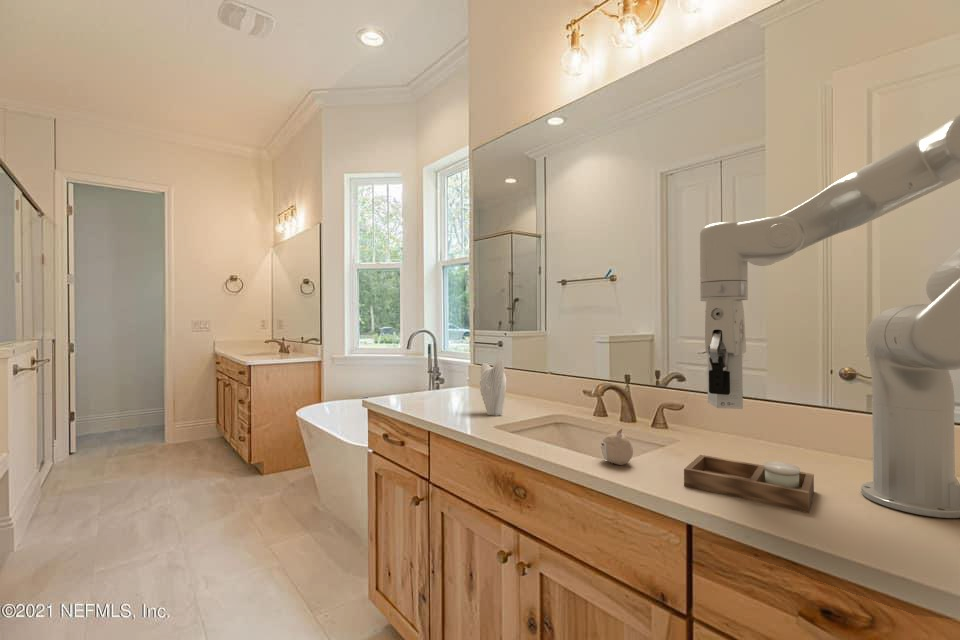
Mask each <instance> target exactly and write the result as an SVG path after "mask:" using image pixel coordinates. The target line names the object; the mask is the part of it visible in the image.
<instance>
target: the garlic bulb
mask: <svg viewBox="0 0 960 640" xmlns="http://www.w3.org/2000/svg"><path fill="white" fill-rule="evenodd" d="M600 444H601V446H600V448H601V453H602V456H603V458H604V460H605V461H607V462H609V463H610V462H611V464H613V463H614V465H619V466H623V465H626V464H627V463H629V462H630V460H632V457H633V455H634V447H633V446H632V443H631V441H630V440H629V438H628V436H625V434H624V433H623V428H620V429H619V430H618V431H617V432H613V433H609V434H607V435H606V436H605V437H603V439H602V441H601V443H600Z"/></svg>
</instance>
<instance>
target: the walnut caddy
mask: <svg viewBox="0 0 960 640" xmlns="http://www.w3.org/2000/svg"><path fill="white" fill-rule="evenodd" d="M814 477H815V474H814V473H811V472H803V471H800V474H799V489H795V488H790V487H784V486H779V485H774V484H769V483H765V469H764V464H763V465H761V464H758V463H752V462H751V463H750V462H745V461H739V460H734V459H728V458H723V457H715V456H712V455H711V456H709V455H704V454H699V455H698V456H697V457H696V458H695V459H694V460H692V461H691V462H690V463H689V464H688V465H687V466H685V468H684V469H683V486H684V487H688V488H692V489H697V490H702V491H706V492H711V493H716V494H721V495H725V496H729V497H734V498H739V499H742V500H748V501H752V502H756V503H757V502H758V503H762V504H766V505H771V506H774V507H775V506H776V507H780V508H784V509H790V510H794V511H799V512H803V513H809V512H810V509H811V505H812V501H813V496H814V494H815V481H814V480H815V479H814Z"/></svg>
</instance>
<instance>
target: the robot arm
mask: <svg viewBox="0 0 960 640" xmlns="http://www.w3.org/2000/svg"><path fill="white" fill-rule="evenodd" d="M958 180H960V114H957V115H955V116H953V118H950V119H949V120H948V121H946V122H945V123H943V124H941V125H940V126H938V127H937V128H935V129H933V130H932V131H930V132H928V133H926V134H925V135H923V136H921V137H919V138H917V139H915V140H913V141H911V142H910V143H908V144H906V145H904V146H902V147H900V148H897V149H896V150H894V151H892V152H890V153H888V154H886V155H885V156H882V157H881V158H878V159H876V160H875V161H873V162H871V163H869V164H866V165H865V166H863V167H861V168H858V169H856V170H855V171H852V172H850V173H849V174H847V175H845V176H842V178H840V179H838V180H837V181H835V182H833V183H832V184H830V185H829V186H828V187H826V188H825V189H823V190H822V191H820V192H819V193H817V194H816V195H814V196H813V197H811V198H809V199H808V200H806V201H805V202H803V203H801V204H799V205H798V206H796V207H793V208H791V210H788V211H786V212H785V213H783V214H781V215H773V216H767V217H764V218H758V219H753V220H747V221H740V222H739V221H724V222H723V221H721V222H714V223H710V224H707V225H705V226H703V228H702V229H701V231H700V232H699V271H700V272H699V275H700V276H699V277H700V279H699V280H700V284H699V287H700V288H699V289H700V290H699V293H700V295H699V296H700V297H699V299H700V302H705V310H704V311H705V313H704V314H705V316H704V319H705V320H704V346H705V352H706V354H709V355H710V358H709V359H710V360H709V392H710V393H711V394H722V395H729V394H730V371H728V362H729V353H732V355H733V356H738V355H739V354H740V340H742V355H744V354H745V353H746V352H747V343H746V325H745V311H744V303H743V301H748V299H749V290H748V289H749V287H748V285H749V284H748V283H749V282H748V281H749V280H748V279H749V277H748V272H749V271H748V267H749V266H748V263H749V264H751V265H754V266H757V267H758V266H759V267H765V266H771V265H773V264H775V263H778V262H780V261H783V260H785V259H788V258H790V257H791V256H794V255H795V254H796V253H797V252H800V251H801V250H804V249H806V248H808V247H811V246H813V245H815V244H816V243H819V242H821V241H823V240H826V239H828V238H830V237H833V236H835V235H838V234H840V233H843V232H847V231H850V230H852V229H855V228H858V227H860V226H862V225H865V224H867V223H869V222H871V221H875V220H876V219H878V218H880V217H883V216H884V215H886V214H888V213H890V212H894V211H895V210H898V209H899V208H900V207H903V206H905V205H907V204H910V203H911V202H913V201H916V200H918V199H920V198H922V197H924V196H927V195H928V194H931V193H933V192H934V191H937V190H939V189H942V188H943V187H945V186H947V185H950V184H952V183H954V182H956V181H958ZM925 293H926V295H927V297H928V299H929V301H931V303H930V304H928V303H927V304H923V303H922V304H907V305H898V306H894V307H891V308H888V309H885V310H883V311H882V312H880V313H879V314H877V315H876V316H875V317H874V318H873V319H872V320H871V322H870V323H869V325H868V327H867V330H866V336H865V345H866V350H867V356H868V360H869V364H870V365H869V366H870V373H871V390H872V391H871V394H872V398H871V399H872V400H871V401H872V402H871V408H872V414H871V415H872V417H871V419H872V425H871V426H872V481H869V482H864V483H862V484H861V486H860V492H861V495H863V496H864V497H865V498H866V499H868V500H870V501H872V502H874V503H875V504H879V505H881V506H884V507H886V508H890V509H893V510H896V511H902V512H905V513H910V514H914V515H918V516H919V515H920V516H925V517H933V518H940V519H941V518H943V519H960V482H959V480H958V479H957V477H956V469H955V468H956V465H955V464H956V463H955V462H956V461H955V455H956V453H955V406H956V405H955V401H956V400H955V391H954V390H955V389H954V386H953V381H952V377H951V373H950V371H957V370H960V247H958V249H956V250H955V252H953V253H952V254H951V255H950V256H949V257H948V258H947V259H945V260H944V261H943V262H942V263H941V264H940V265H938V266H937V267H936V268H935V269H934V270H933V272H932V273H931V274H930V276H929V277H928V279H927V281H926V285H925ZM722 341H723V342H722ZM719 350H723V351H725V352H726V353H720V352H719ZM723 359H724V363H723Z"/></svg>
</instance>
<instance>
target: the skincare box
mask: <svg viewBox="0 0 960 640" xmlns="http://www.w3.org/2000/svg"><path fill="white" fill-rule="evenodd" d="M722 342H723V341H722ZM719 352H720V353H726V352H725V351H723V350H719ZM706 354H707V353H706ZM706 357H707V403H708V404H710V405H712V406H713V407H715V408H717V409H735V410H736V409H739V410H742V409H743V407H744V406H743V404H744V400H743V354H742V340H740V354H739V355H738V356H733V355H732V353H729V362H728V371H730V394H729V395H722V394H711V393H710V392H709V360H710V359H709V358H710V355H709V354H707V356H706ZM723 363H724V359H723Z"/></svg>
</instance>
